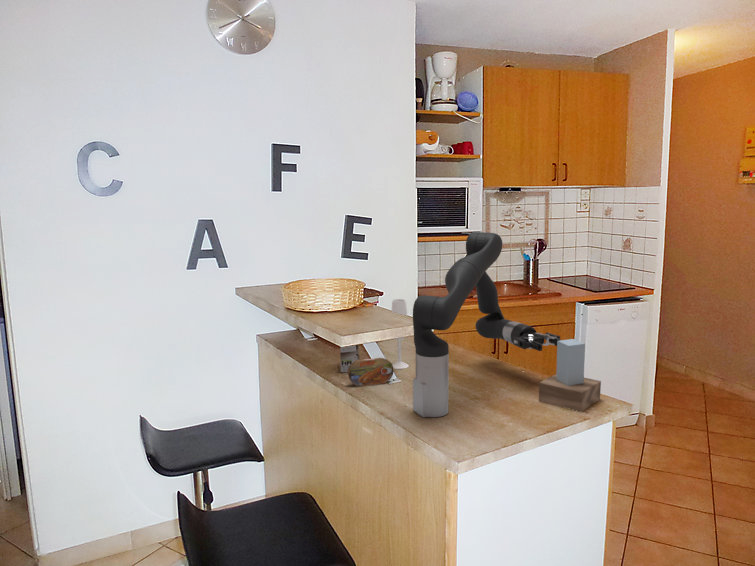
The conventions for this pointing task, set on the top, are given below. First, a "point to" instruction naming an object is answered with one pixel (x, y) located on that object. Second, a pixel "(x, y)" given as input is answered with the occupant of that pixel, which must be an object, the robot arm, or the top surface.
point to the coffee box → (348, 356)
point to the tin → (370, 371)
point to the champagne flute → (400, 308)
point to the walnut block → (569, 393)
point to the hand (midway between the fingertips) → (552, 346)
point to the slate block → (570, 362)
